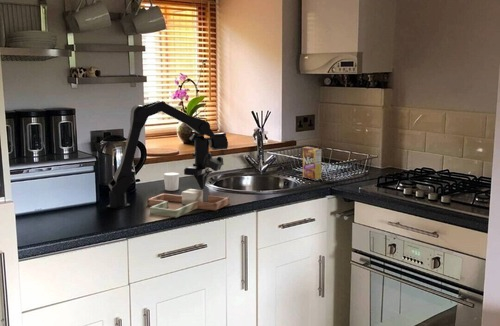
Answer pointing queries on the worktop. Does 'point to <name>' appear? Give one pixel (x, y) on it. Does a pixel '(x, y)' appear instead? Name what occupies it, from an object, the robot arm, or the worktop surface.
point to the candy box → (312, 162)
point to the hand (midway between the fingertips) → (202, 188)
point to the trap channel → (160, 206)
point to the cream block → (192, 196)
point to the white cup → (171, 181)
